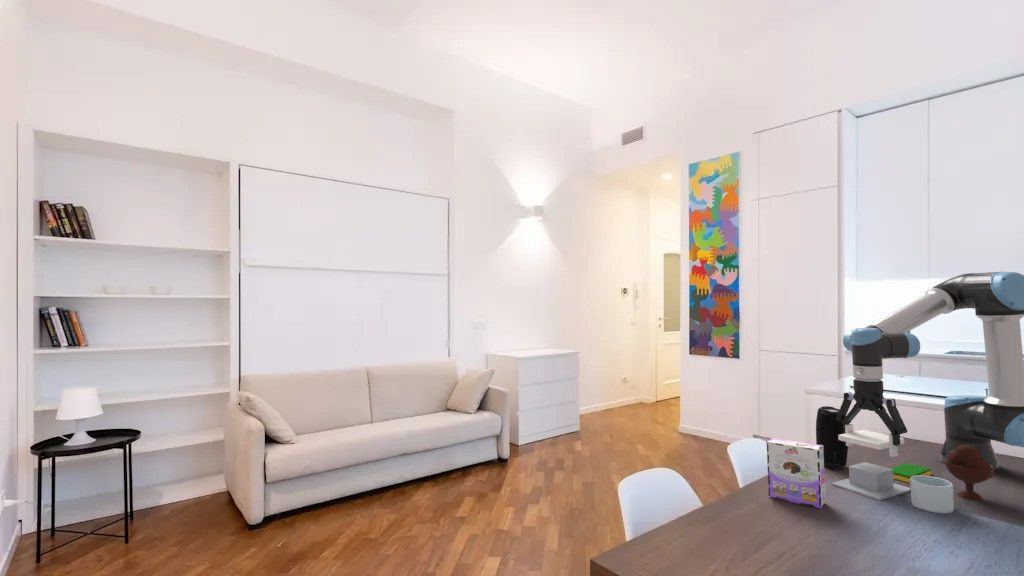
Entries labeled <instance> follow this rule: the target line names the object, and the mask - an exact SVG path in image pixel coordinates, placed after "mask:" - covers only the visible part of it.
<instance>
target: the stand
mask: <svg viewBox="0 0 1024 576" xmlns="http://www.w3.org/2000/svg"><path fill="white" fill-rule="evenodd" d="M848 475H849V476H848V477H849V478H845V479H841V480H837V481H833V482H831V486H834V485H835V486H834V487H837V486H838V488H840V487H841V488H840V489H843V488H844V489H843V490H845V491H846V490H847V491H850V492H852V491H853V493H855V492H856V494H858V495H862V496H864V497H868V498H871V499H874V500H877V501H879V502H880V501H883V500H887V499H890V498H893V497H896V496H900V495H903V494H907V493H909V492H910V493H911V487H908V486H904V485H901V484H898V483H894V479H893V469H891V468H888V467H884V466H881V465H878V464H873V463H869V462H866V461H863V462H861V463H856V464H853V465H849V466H848Z"/></svg>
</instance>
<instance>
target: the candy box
mask: <svg viewBox="0 0 1024 576" xmlns="http://www.w3.org/2000/svg"><path fill="white" fill-rule="evenodd" d="M766 451H767V452H766V457H767V458H766V459H767V464H766V465H767V486H768V493H767V494H768V495H767V496H770V497H773V498H772V499H774V498H777V499H776V500H780V499H781V500H780V501H784V500H786V502H788V501H789V502H790V503H793V502H794V504H797V503H798V504H797V505H802V504H803V506H806V505H807V507H811V506H812V508H815V507H816V508H817V509H822V508H823V507H824V505H825V504H826V482H825V481H826V480H825V465H824V451H823V445H816V444H815V443H809V442H808V443H807V442H802V441H795V440H789V439H783V438H782V439H781V438H775V437H772V438H770V439H769V440H768V441H766ZM770 497H769V498H770Z"/></svg>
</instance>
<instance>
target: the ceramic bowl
mask: <svg viewBox="0 0 1024 576" xmlns="http://www.w3.org/2000/svg"><path fill="white" fill-rule="evenodd" d="M910 480H911V483H910V488H911V491H910V502H911V505H912V506H913V507H915V508H917V509H920V510H922V511H926V512H929V513H935V514H951V513H953V512H954V507H955V506H954V485H953V482H951V481H950V480H947V479H945V478H941V477H936V476H932V475H930V476H925V475H915V476H911V477H910Z"/></svg>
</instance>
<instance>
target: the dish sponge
mask: <svg viewBox="0 0 1024 576" xmlns="http://www.w3.org/2000/svg"><path fill="white" fill-rule="evenodd" d="M890 469H893V480H897V481H901V482H905V483H908V484H911V480H910V477H911V476H915V475H925V476H932V468H930V467H926V466H923V465H918V464H913V463H908V462H904V463H902V464H899V465H897V466H893V467H891V468H890Z"/></svg>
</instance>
